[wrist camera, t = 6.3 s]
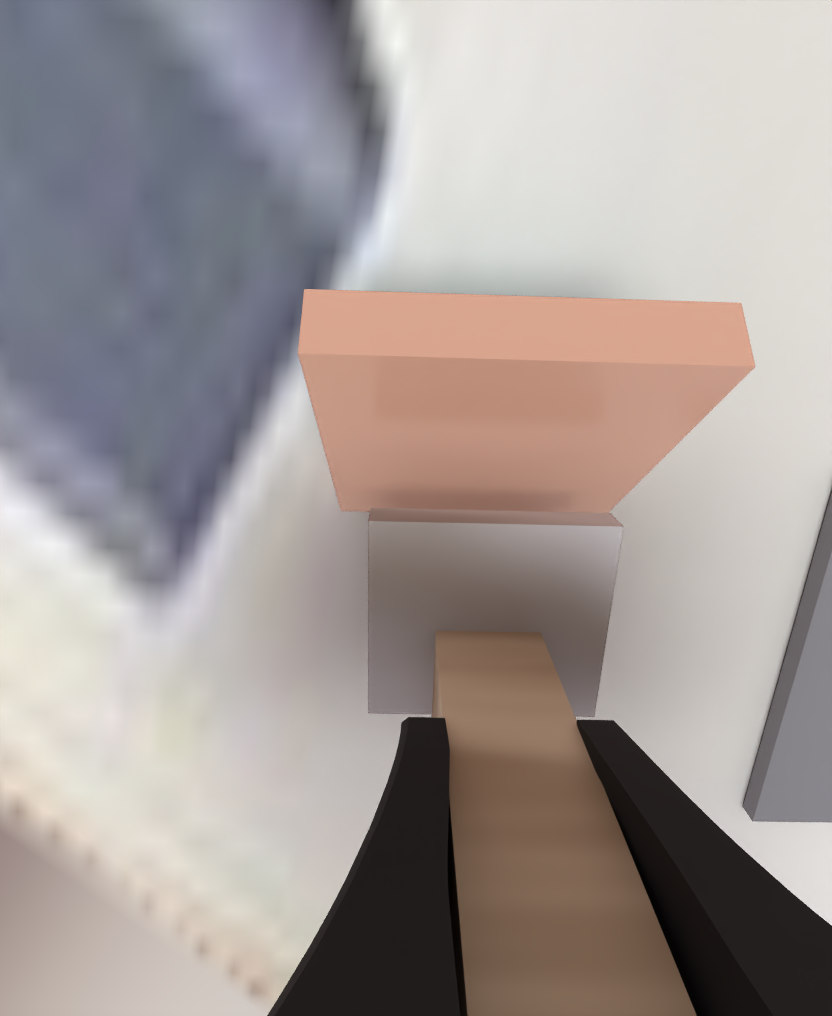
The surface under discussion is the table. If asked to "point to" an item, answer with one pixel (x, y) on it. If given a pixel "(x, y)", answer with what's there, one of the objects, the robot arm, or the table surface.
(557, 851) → the grey square paddle
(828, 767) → the mat
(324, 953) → the robot arm
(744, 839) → the table surface
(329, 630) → the table surface
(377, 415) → the tile
